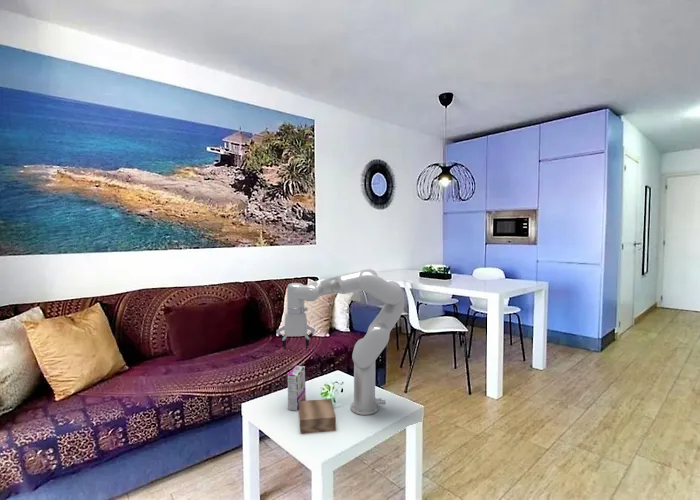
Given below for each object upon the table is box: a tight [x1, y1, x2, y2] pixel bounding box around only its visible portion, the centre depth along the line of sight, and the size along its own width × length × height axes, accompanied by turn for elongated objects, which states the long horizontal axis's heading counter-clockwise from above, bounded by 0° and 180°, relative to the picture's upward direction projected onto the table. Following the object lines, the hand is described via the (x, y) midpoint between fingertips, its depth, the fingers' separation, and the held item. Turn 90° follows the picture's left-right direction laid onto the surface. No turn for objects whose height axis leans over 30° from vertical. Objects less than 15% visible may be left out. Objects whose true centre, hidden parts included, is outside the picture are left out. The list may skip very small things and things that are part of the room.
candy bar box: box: [286, 365, 307, 412], centre depth 170 cm, size 11×5×16 cm, turn 168°
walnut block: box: [298, 398, 337, 435], centre depth 156 cm, size 14×16×6 cm
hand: (295, 347), depth 169 cm, fingers open, 9 cm apart
